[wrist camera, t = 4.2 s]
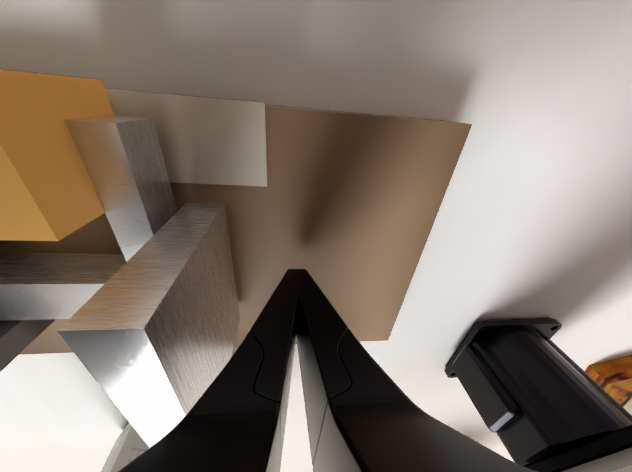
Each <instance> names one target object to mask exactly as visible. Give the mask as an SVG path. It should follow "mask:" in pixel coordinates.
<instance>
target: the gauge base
mask: <svg viewBox="0 0 632 472" xmlns="http://www.w3.org/2000/svg"><path fill="white" fill-rule="evenodd" d="M105 90H106V93H107V96H108V99H109V102H110V105H111V108H112V111H113V114H114V115H121V116H134V117H147V118H153V119H154V123H155V127H156V131H157V135H158V138H159V142H160V146H161V150H162V154H163V158H164V162H165V166H166V170H167V173H168V177H169V181H170V185H171V189H172V193H173V197H174V201H175V204H176V208H177V212H178V211H179V210H180V209H181V208H182V207H183V206H184V205H185V204H186V203H187V202H206V203H224V205H225V212H226V220H227V227H228V234H229V241H230V249H231V256H232V263H233V270H234V278H235V285H236V292H237V299H238V307H239V314H240V323H239V327H238V331H237V336H236V340H235V344H234V346H240V345H241V343H242V342H243V340H244V339H245V337H246V335H247V334H248V332H249V331H250V329H251V327H252V326H253V324H254V323H255V321H256V319H257V318H258V316H259V315H260V313H261V311H262V310H263V308H264V307H265V305H266V303H267V302H268V300H269V298H270V297H271V295H272V294H273V292H274V290H275V289H276V287H277V286H278V284H279V282H280V281H281V279H282V278H283V276H284V274H285V273H286V271H287V270H288V269H306V270H307V271H308V272H309V274H310V275H311V277H312V278H313V279H314V281H315V282H316V283H317V285H318V286H319V288H320V289H321V290H322V292H323V293H324V295H325V296H326V297H327V299H328V300H329V301H330V303H331V304H332V306H333V307H334V308H335V310H336V311H337V312H338V314H339V315H340V317H341V318H342V319H343V321H344V322H345V324H346V325H347V326H348V329H350V330H351V332H352V333H353V334H354V336H355V337H356V339H357V340H358V341H380V340H388V339H389V336H390V333H391V331H392V328H393V326H394V323H395V321H396V318H397V315H398V313H399V310H400V308H401V305H402V303H403V300H404V297H405V295H406V292H407V290H408V287H409V285H410V282H411V279H412V277H413V274H414V272H415V269H416V267H417V264H418V262H419V259H420V256H421V254H422V251H423V249H424V246H425V244H426V241H427V238H428V236H429V233H430V231H431V228H432V226H433V223H434V220H435V218H436V215H437V213H438V210H439V208H440V205H441V203H442V200H443V197H444V195H445V192H446V190H447V187H448V185H449V182H450V179H451V177H452V174H453V172H454V169H455V167H456V164H457V161H458V159H459V156H460V154H461V151H462V149H463V146H464V143H465V141H466V138H467V136H468V133H469V131H470V128H471V126H472V124H465V123H457V122H450V121H439V120H427V119H416V118H405V117H393V116H382V115H370V114H359V113H348V112H336V111H325V110H314V109H302V108H291V107H280V106H268V105H265V103H263V102H252V101H241V100H229V99H218V98H207V97H196V96H185V95H173V94H162V93H151V92H140V91H129V90H117V89H106V88H105ZM8 253H62V254H123V253H122V251H121V248H120V246H119V244H118V241H117V239H116V237H115V235H114V232H113V230H112V228H111V225H110V223H109V221H108V219H107V216H106V214H105V213H104V214H102V215H100V216H99V217H97V218H96V219H94V220H92V221H91V222H89V223H87V224H86V225H84V226H82V227H81V228H79V229H78V230H76V231H74V232H73V233H71V234H69V235H68V236H66V237H64V238H63V239H61V240H60V241H13V240H0V257H2V256H4V255H6V254H8ZM68 320H69V319H47V320H2V321H0V371H1V370H3V369H4V368H5V367H6V366H7V365H8V364H9V363H10V362H11V361H12V360H13V359H14V358H15V357H16V356H17V355H19V354H41V353H67V352H73V350H72V349H71V348H70V347H69V345H68V344H67V343H66V342H65V340H64V339H63V338H62V336H61V335H60V334H59V333H58V330H59V329H60V328H61V327H62V326H63V325H64V324H65V323H66V322H67V321H68ZM295 344H297V337H296V340H295Z"/></svg>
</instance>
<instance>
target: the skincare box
mask: <svg viewBox="0 0 632 472" xmlns="http://www.w3.org/2000/svg"><path fill="white" fill-rule="evenodd" d="M147 449H149V447H148V445H147V444H146V443H145V442H144V440H143V439H142V438H141V437H140V435H139V434H138V433H137V431H136V430H135V429H134V428H133V426H132V425H131V424H130V423H128V425H127V426H126V427H125V429H124V430H123V432H122V433H121V434H120V436H119V437H118V438H117V440H116V442H115V444H114V446H113V448H112V450H111V452H110V454H109V456H108V458H107V461H106V463H105V465H104V467H103V469H102V471H101V472H118V471H119V470H121V469H122V468H123V467H125V466H126V465H127V464H129V463H130V462H131V461H133V460H134V459H135V458H137V457H138V456H139V455H141V454H142V453H143V452H145V451H146V450H147Z"/></svg>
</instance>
